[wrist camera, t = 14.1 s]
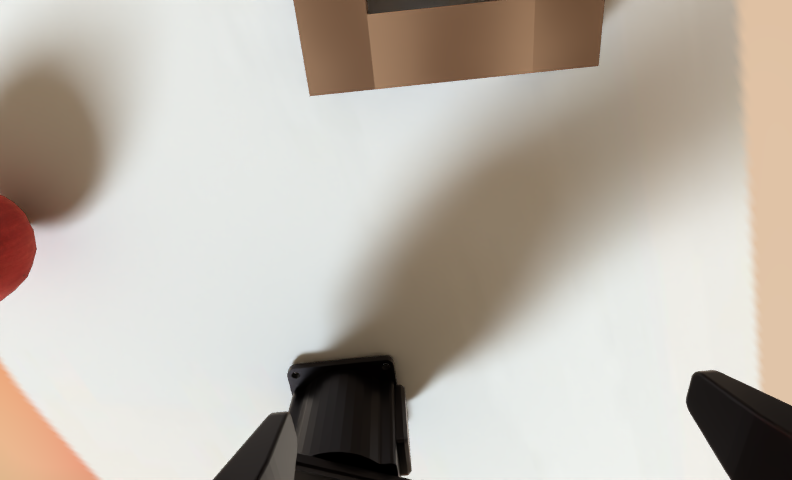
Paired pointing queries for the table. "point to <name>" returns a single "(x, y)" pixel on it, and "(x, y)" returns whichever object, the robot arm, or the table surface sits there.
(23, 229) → the onion
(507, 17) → the block
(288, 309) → the table surface
